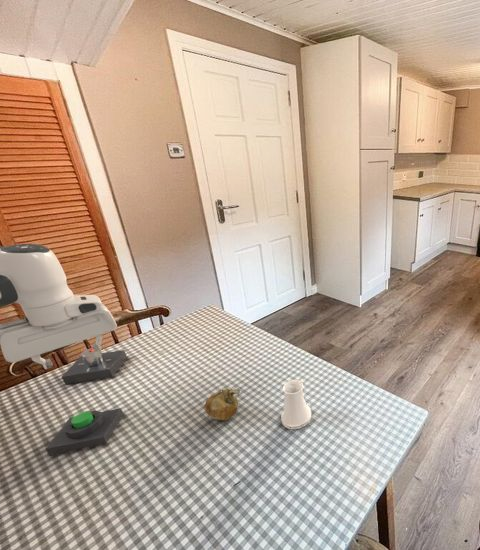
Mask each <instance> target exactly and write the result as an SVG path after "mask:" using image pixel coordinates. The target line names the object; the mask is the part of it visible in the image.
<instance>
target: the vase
mask: <svg viewBox="0 0 480 550" xmlns="http://www.w3.org/2000/svg"><path fill="white" fill-rule="evenodd" d="M282 391H283V394H284V401H285V402H284V403H285V404H284V409H283V410H282V412H281V416H280V420H281V425H282V426H284V427H285V428H286V429H288V430H298V429H301V428H304V427H305V426H307V425H308V424H309V423H310V421H311V419H312V409H311V407H310V406H309V405H307V403H306V401H305V398H304V383H303V381H301V380H299V379H291V380H288V381H287V382H286V383H284V385H283V386H282Z"/></svg>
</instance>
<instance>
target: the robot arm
mask: <svg viewBox="0 0 480 550" xmlns="http://www.w3.org/2000/svg"><path fill="white" fill-rule="evenodd" d="M67 279H68V278H67V275H66V273H65V270H64V269H63V267H62V265H61V262H60V261H59V259H58V257H57V256H56V254H55V253H54V251H52V250H51V249H50V248H49V247H48V246H45V245H41V244H38V243H37V244H36V243H19V244H11V245H6V246H2V245H0V308H2V307H5V306H9V305H12V304H19V306H20V308H21V309H22V312H23V313H24V315H25V317H22V318H19V319H16V320H13V321H10V322H3V323H0V348H1V352H2V355H3V357H4V360H5V361H6V362H8V363H13V364H14V363H18V362H21V361H24V360H27V359H31V361H32V362H35V363H37V364H39V365H42V367H43V369H44V370H48V369H51V368H53V367H54V364H53V362H52V359H51V358H49V357H48V358H47V359H45V358H44V357H41V355H42V354H45V353H48V352H52V351H55V350H57V349H62V348H65V347H68V346H71V345H73V344H76V343H79V342H82V341H83V342H84V341H85V340H88V339H91V338H94V337H95V340H96V341H95V342H94V343H92V344H91V345H92V347H93V348H94V351H95V352H96V351H99V350H100V351H102V346H101V344H102V342H103V339H104V335H103V334H108V333H111V332H113V331H115V330H116V329H117V327H118V324H117V322H116V320H115V318H114V316H113V314H112V313H111V311H110V310H109V308H108V306H106V305H105V304H103V302H102V299H101V298H100V297H99V296H98V295H97V294H74V292H73V291H72V289H71V288H70V287H69V286H68V283H67Z"/></svg>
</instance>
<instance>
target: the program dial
mask: <svg viewBox="0 0 480 550" xmlns="http://www.w3.org/2000/svg"><path fill="white" fill-rule="evenodd" d="M102 353H103V352H102V350H99V351H96V352H95V351H94V348H93V346H92V347H89V348H88V349H85V350H84V351H82V352H81V353H80V357H81V356H82V359H83V361H84V363H85V365H86V366H87V367H91V366H95V365H98V364H100V363H101V362H103V360H104V358H103V356H102Z"/></svg>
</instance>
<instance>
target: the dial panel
mask: <svg viewBox="0 0 480 550" xmlns="http://www.w3.org/2000/svg"><path fill="white" fill-rule="evenodd" d="M101 353H102V356H103V358H104V360H103V362H101V363H100V364H98V365H95V366H91V367H87V366H86V365H85V363H84V361H83V359H82V356H81V355H80V356H79V358H78V359H77V360H75V362H74V363H73V364H72V365H71V366H70V367H69V368H68V369H67V370H66V371H65V372H64V373H63V374H62V375H61V379H62V381H63V383H64V385H65V386H66V385H71V384H72V385H73V384H79V383H83V382H90V381H96V380H102V379H109V378H114V377H115V375H116V374H117V373H118V371H119V370H120V368H121V367H122V365H123V364H124V363H125V361H126V360H127V358H128V356H127V353H126V350H125V349H120V350H115V351H107V352H101Z"/></svg>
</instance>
